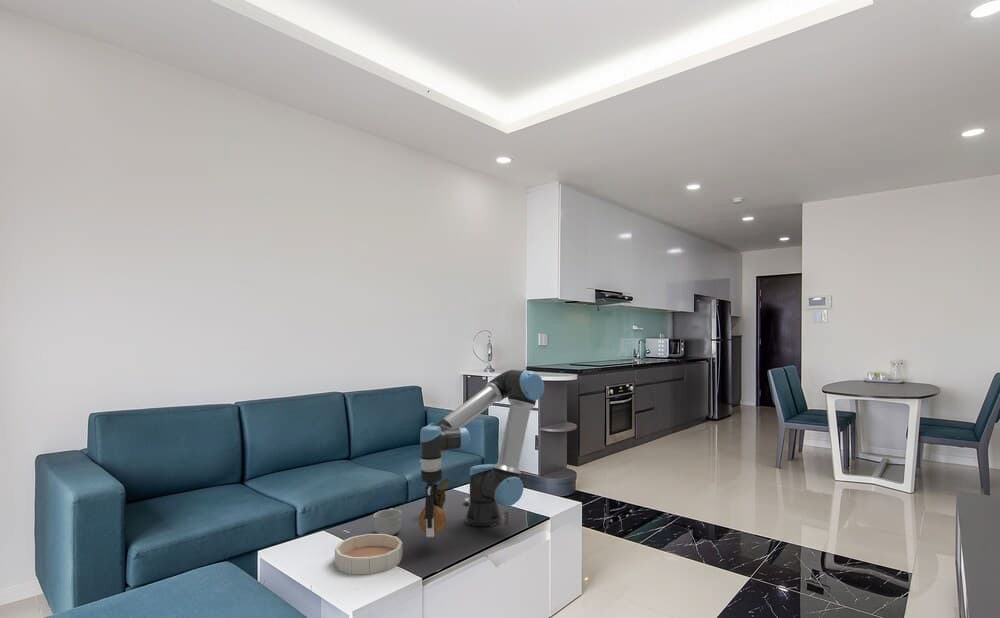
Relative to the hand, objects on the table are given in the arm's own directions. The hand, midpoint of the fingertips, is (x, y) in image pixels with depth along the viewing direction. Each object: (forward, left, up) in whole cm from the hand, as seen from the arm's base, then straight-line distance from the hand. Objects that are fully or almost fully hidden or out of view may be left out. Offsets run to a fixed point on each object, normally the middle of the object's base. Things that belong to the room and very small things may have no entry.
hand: (432, 530), depth 194 cm
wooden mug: (+2, -35, -7) cm, 35 cm away
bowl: (+20, +10, -6) cm, 24 cm away
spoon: (-19, -65, -7) cm, 68 cm away
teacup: (+19, -17, -7) cm, 26 cm away
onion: (0, 0, -1) cm, 1 cm away
